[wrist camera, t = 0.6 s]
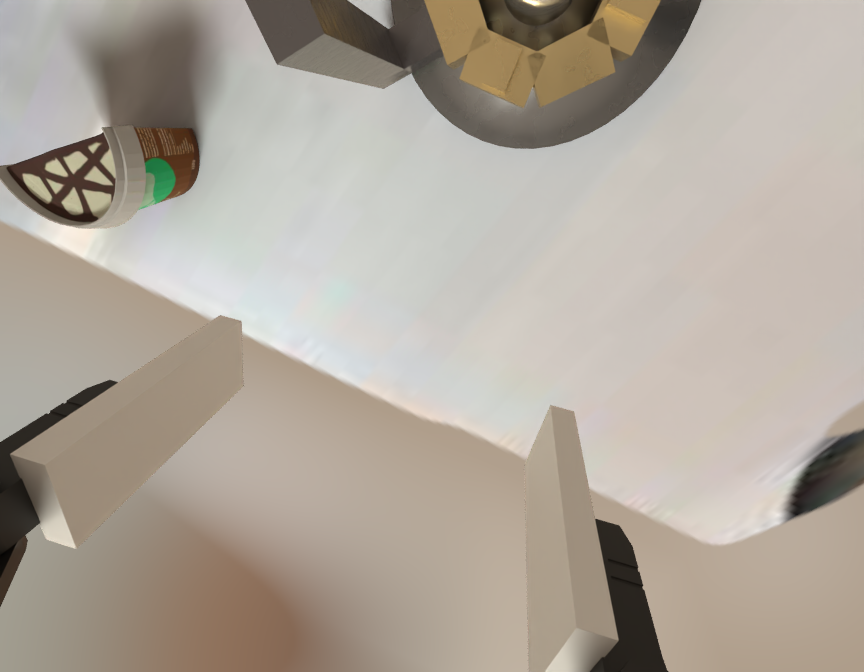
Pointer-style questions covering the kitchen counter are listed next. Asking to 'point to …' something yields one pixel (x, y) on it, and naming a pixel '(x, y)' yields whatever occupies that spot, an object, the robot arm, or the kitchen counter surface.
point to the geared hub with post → (448, 45)
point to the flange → (532, 126)
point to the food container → (106, 175)
